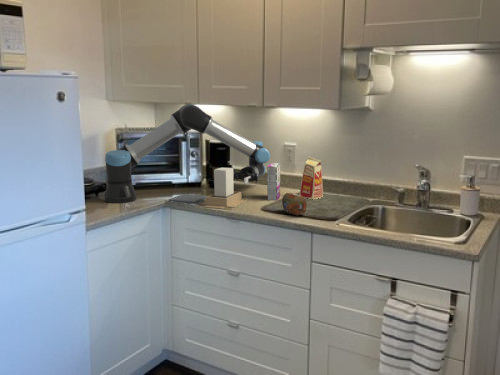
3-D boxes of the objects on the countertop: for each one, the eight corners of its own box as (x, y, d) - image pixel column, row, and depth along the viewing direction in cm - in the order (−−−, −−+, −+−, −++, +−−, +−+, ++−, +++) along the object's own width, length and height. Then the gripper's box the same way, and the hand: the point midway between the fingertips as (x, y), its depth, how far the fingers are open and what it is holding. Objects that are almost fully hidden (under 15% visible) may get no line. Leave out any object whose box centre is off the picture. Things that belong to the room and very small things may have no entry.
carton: (196, 206, 234) (195, 197, 233) (218, 196, 254) (218, 188, 254) (230, 209, 227) (230, 200, 226) (250, 199, 248) (250, 191, 247)
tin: (281, 210, 225) (281, 191, 223) (287, 209, 226) (287, 190, 225) (301, 217, 212) (301, 197, 210) (307, 216, 214) (308, 196, 212)
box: (214, 204, 238) (214, 169, 235) (222, 200, 245) (221, 167, 242) (226, 205, 236) (225, 170, 233) (233, 201, 243) (233, 168, 240)
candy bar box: (270, 195, 256) (270, 162, 253) (280, 195, 255) (280, 163, 252) (266, 200, 245) (266, 166, 242) (277, 200, 244) (277, 166, 241)
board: (168, 201, 244) (168, 199, 244) (183, 195, 257) (183, 193, 257) (194, 203, 239) (194, 201, 239) (208, 197, 252) (208, 195, 251)
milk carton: (299, 197, 250) (299, 156, 246) (309, 194, 257) (310, 155, 253) (314, 200, 244) (315, 158, 241) (325, 197, 251) (326, 156, 248)
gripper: (271, 182, 261) (255, 189, 242) (227, 179, 271) (208, 186, 251) (271, 167, 260) (255, 174, 240) (226, 165, 269) (208, 171, 250)
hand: (231, 180), depth 246 cm, fingers open, 13 cm apart
